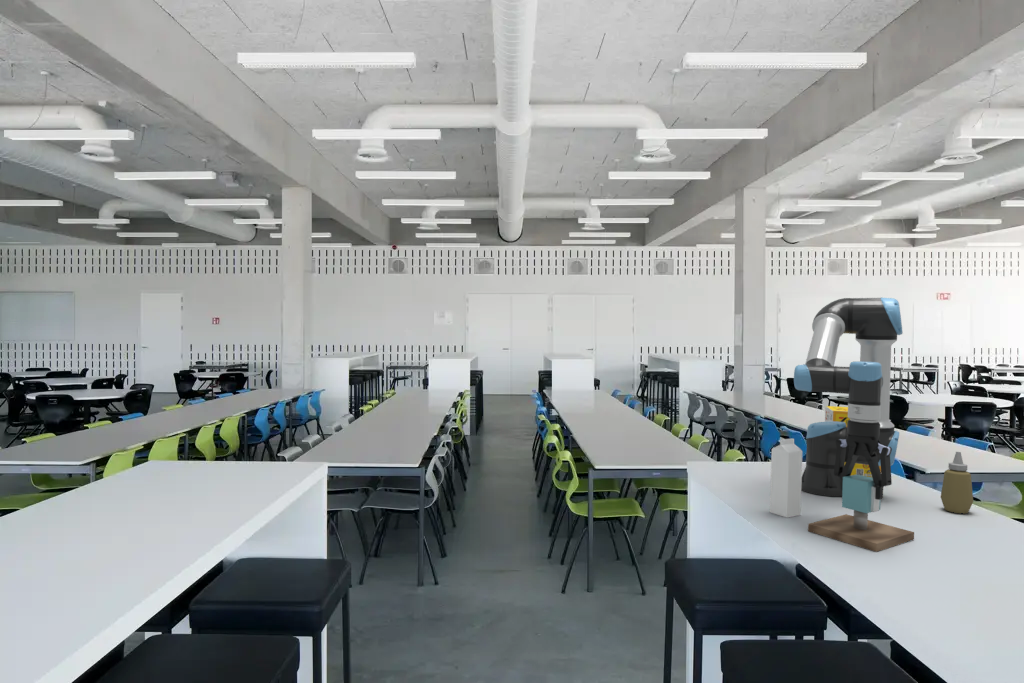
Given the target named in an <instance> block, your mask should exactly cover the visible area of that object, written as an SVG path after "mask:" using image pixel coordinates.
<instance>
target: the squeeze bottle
mask: <svg viewBox="0 0 1024 683" xmlns="http://www.w3.org/2000/svg"><path fill="white" fill-rule="evenodd" d="M947 468H948V469H946V470H944V473H943V479H942V486H941V491H940V500H941V502H942V506H943V509H944V510H945V511H947V512H950V513H953V512H954V513H955V514H961V513H963V515H964V514H968V513H969V512H970V509H972V508H971V507H972V506H973V503H974V495H973V493H974V492H973V484H972V483H973V482H972V474H971V473H970V472H969V471H968V465H967V464H965V463H964V461H963V456H962V452H961V451H955V453H954V457H953V460H952V462H948V465H947Z"/></svg>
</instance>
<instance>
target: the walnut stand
mask: <svg viewBox="0 0 1024 683" xmlns="http://www.w3.org/2000/svg"><path fill="white" fill-rule="evenodd" d="M868 514H869V513H863V512H859V511H855V510H853V515H850V514H847V513H845V514H842V515H837V516H834V517H829V518H826V519H822V520H818V521H814V522H809V523H808V524H807V525H808V526H807V527H808V528H807V532H810V533H813V534H817V535H820V536H823V537H827V538H830V539H833V540H835V541H836V540H837V541H839V542H843V543H846V544H849V545H853V546H856V547H859V548H862V549H866V550H869V551H873V552H876V553H877V552H881V551H883V550H887V549H890V548H893V547H896V546H899V545H902V544H901V543H903V544H905V543H904V542H906V543H908V542H907V541H909V542H911V541H910V540H912V541H914V540H915V531H911V530H908V529H907V530H906V529H903V528H899V527H896V526H892V525H889V524H885V523H881V522H877V521H874V520H869V519H868V516H869V515H868ZM913 539H914V540H913ZM898 544H899V545H898ZM895 545H896V546H895ZM889 547H890V548H889Z"/></svg>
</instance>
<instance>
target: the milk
mask: <svg viewBox="0 0 1024 683" xmlns="http://www.w3.org/2000/svg"><path fill="white" fill-rule="evenodd" d="M770 460H771V462H770V470H771V471H770V492H769V496H770V500H769V513H771V514H773V515H777V516H780V517H783V518H785V519H787V518H792V517H799V516H801V512H802V490H801V484H802V475H803V473H802V472H803V450H802V449H801V448H800V447H799V446H798V445H796V443H795V438H783V439H780V441H779V445H777V446H775V447H773V448H771V456H770Z"/></svg>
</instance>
